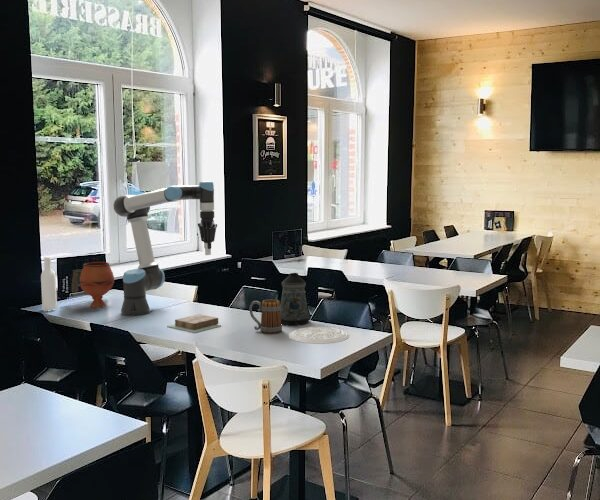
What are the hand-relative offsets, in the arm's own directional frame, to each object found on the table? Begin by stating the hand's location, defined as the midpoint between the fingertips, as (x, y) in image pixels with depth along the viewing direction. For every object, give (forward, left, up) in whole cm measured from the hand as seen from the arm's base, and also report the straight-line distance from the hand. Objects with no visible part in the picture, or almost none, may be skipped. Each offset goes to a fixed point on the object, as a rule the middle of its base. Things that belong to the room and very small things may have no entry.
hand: (208, 254), depth 347 cm
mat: (+15, -24, -32) cm, 43 cm away
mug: (+50, -10, -33) cm, 61 cm away
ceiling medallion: (+75, -1, -33) cm, 82 cm away
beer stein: (+47, +14, -33) cm, 59 cm away
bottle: (-79, -47, -33) cm, 98 cm away
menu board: (+15, -14, -30) cm, 37 cm away
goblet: (-67, -24, -33) cm, 78 cm away
